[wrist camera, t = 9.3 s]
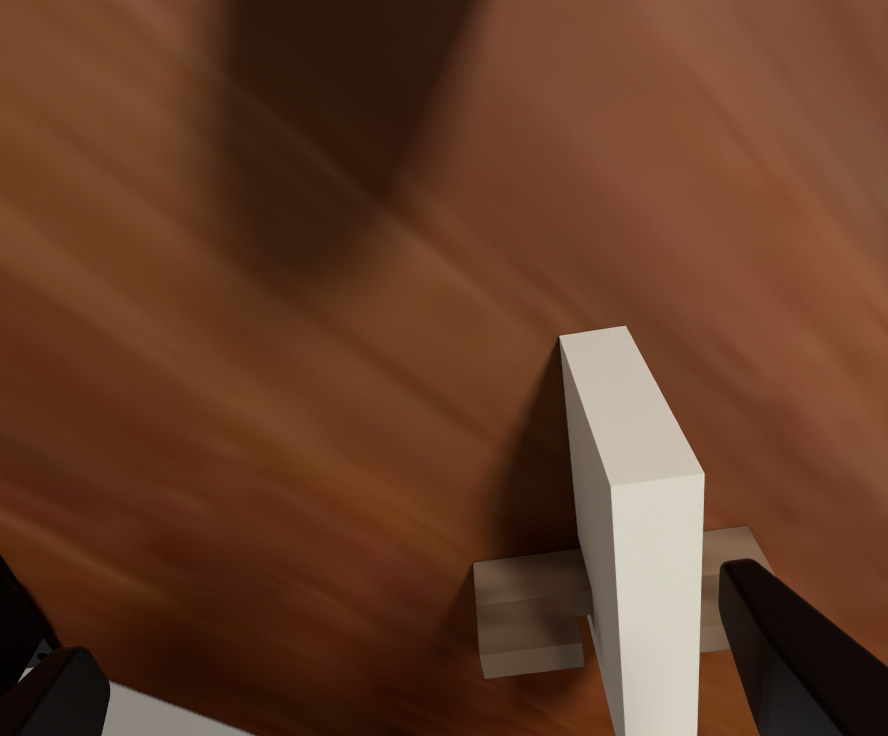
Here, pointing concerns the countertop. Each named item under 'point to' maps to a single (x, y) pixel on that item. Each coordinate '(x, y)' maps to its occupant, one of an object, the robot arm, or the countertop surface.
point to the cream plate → (636, 533)
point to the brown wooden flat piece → (574, 604)
